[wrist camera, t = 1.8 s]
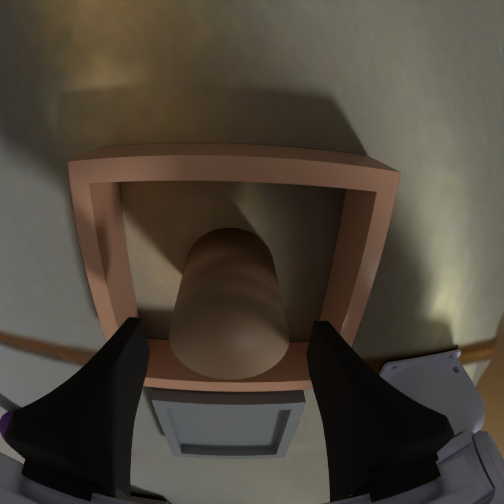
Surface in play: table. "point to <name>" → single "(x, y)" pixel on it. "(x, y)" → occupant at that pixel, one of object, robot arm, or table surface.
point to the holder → (240, 170)
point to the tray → (228, 422)
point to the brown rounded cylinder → (229, 308)
